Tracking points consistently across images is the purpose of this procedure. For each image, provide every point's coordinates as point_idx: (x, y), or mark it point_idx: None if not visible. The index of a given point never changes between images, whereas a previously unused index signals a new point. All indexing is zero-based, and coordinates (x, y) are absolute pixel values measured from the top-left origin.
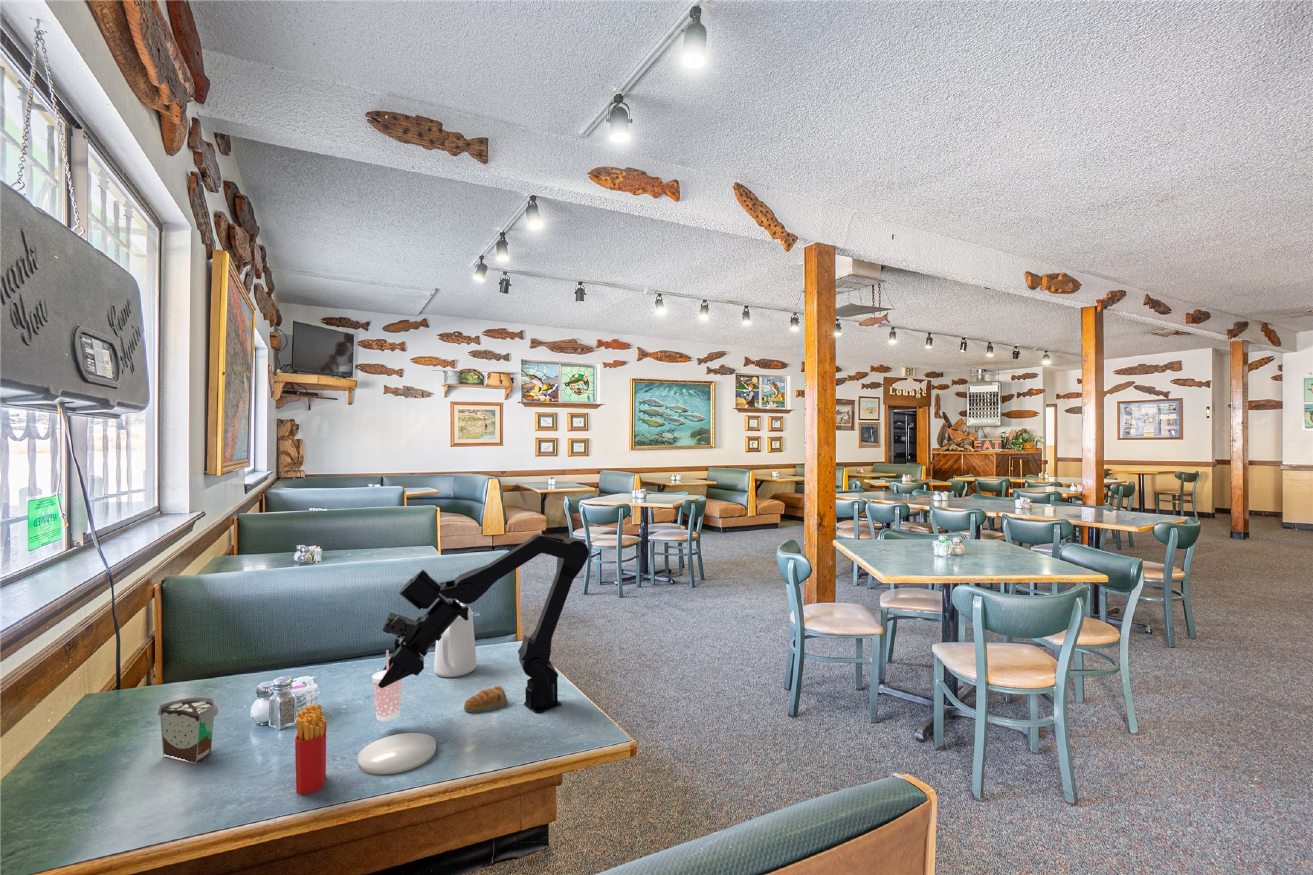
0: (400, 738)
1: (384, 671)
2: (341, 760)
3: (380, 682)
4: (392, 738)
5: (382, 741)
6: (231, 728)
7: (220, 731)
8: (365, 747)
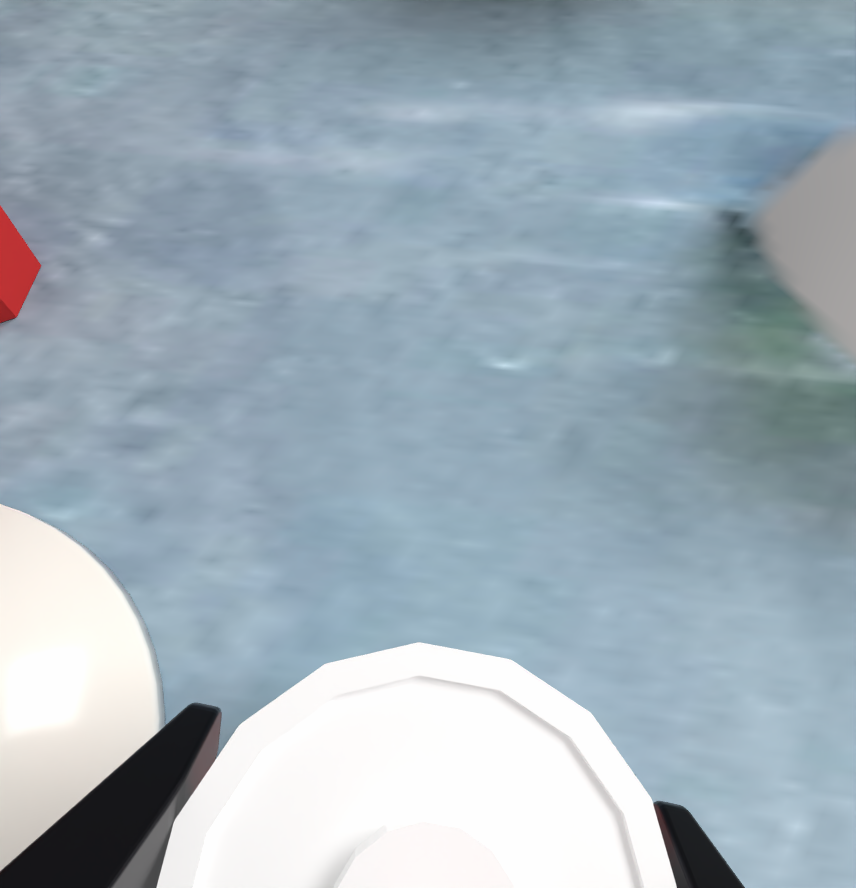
0: (47, 817)
1: (625, 885)
2: (108, 427)
3: (152, 741)
4: (91, 757)
5: (94, 678)
6: (846, 50)
7: (829, 16)
8: (81, 557)
